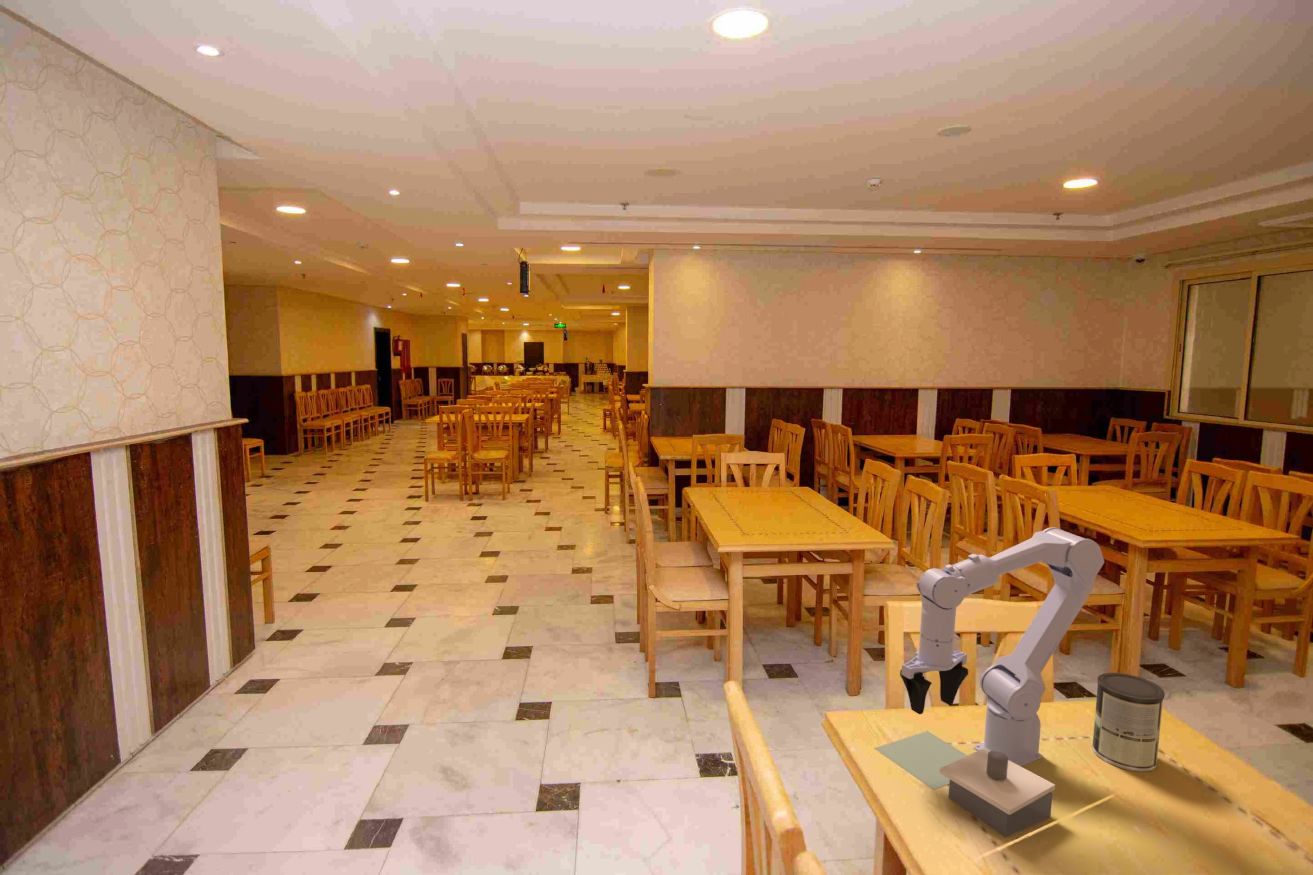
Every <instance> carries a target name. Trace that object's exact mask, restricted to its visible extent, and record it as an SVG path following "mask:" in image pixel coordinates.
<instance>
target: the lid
mask: <svg viewBox="0 0 1313 875" xmlns="http://www.w3.org/2000/svg"><path fill="white" fill-rule="evenodd" d="M967 755H968V756H966V757H964V758H962V759H959V760H957V761H955V762H953V763H951V764H949V765H947V766H944V767H942V768H940V774H942V775H944V776H945V777H947V778H949V779H950V780H952V781H954V782H955V783H957V784H959V785H960V786H962V787H964V788H965V789H967V790H969V791H970V792H972V793H974V794H975V795H977V796H979V797H980V798H982V799H984V800H985V801H987V802H989V803H990V804H992V805H994V806H995V807H997V808H999V809H1000V810H1002V811H1004V812H1005V813H1007V814H1009V815H1010V814H1012V813H1014V812H1016V811H1018V810H1019V809H1021V808H1023V807H1025V806H1026V805H1028V804H1030V803H1032V802H1033V801H1035V800H1037V799H1039V798H1041V797H1042V796H1044V795H1046V794H1048V793H1049V792H1052V791H1055V789H1056V784H1055V783H1053V782H1051V781H1049V780H1047V779H1045V778H1043V777H1041V776H1039V775H1037V774H1036V773H1034V772H1032V771H1030V770H1028V769H1027V768H1025V767H1022V766H1019V765H1017V764H1015V763H1013V762H1011V761H1009V760H1008V757H1007V756H1006V755H1005V754H1003V753H1001V752H998V751H991V750H989V749H987V748H983V749H981V750H979V751H977V750H976V751H974V752H973V753H971V754H967Z"/></svg>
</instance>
